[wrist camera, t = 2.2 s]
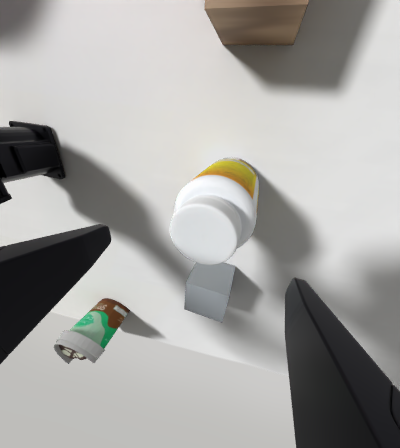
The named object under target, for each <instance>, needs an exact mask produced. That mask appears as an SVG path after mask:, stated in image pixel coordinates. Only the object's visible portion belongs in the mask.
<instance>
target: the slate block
mask: <svg viewBox="0 0 400 448" xmlns="http://www.w3.org/2000/svg"><path fill="white" fill-rule="evenodd" d="M234 271H235V266H234V265H230V264H227V263H223V262H222V263H220V264H215V265H204V264H199V263H196V264H195V266H194V268H193V270H192V272H191V274H190V276H189V278H188V280H187V282H186V291H185V306H184V309H185V310H188V311H191V312H194V313H196V314H199V315H202V316H205V317H208V318H210V319H213V320H216V321H219V322H223V319H224V315H225V311H226V307H227V304H228V300H229V296H230V291H231V286H232V281H233V276H234Z"/></svg>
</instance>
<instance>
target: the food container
mask: <svg viewBox="0 0 400 448" xmlns="http://www.w3.org/2000/svg"><path fill="white" fill-rule="evenodd" d="M129 311H130V310H129V309H128V308H126V307H125V306H124V305H122V304H121V303H119V302H117V301H115V300H112V299H108V298H105V299H102V300H101V301H100V302H99V303H98V304H97V305H96V306H95V307H93V308H92V309H91V310H90V311H89V312H88V313H87V314H86V315H85V316H84V317H83V318H82V319H81V320H80V321H79V322H78V323H77V324H76V325H74V327H72V328H71V329H70V330H66V331H63V333H62V334H61V335H60V337H59V338H58V340H57V341H56V344H55V345H54V349H55V351H56V352H57V354H58V355H59V356H60V357H61V358H62V359H63V360H64V361H65V362H67V363H68V364H69V363H70V361H71V360H72V359H74V358H78V359H80V360H83V359H86V358H88V359H89V360H90V361H92V362H93V363H95V361H96V360H97V359H98V358H99V357H100V356H101V354H102V353H103V352H104V348H105V346H106V345H107V344H108V342H109V341H110V339H111V338H112V336H113V335H114V333H115V332H116V330H117V329H118V327H119V326H120V324H121V323H122V321H123V320H124V318H125V317H126V315H127V314H128V312H129Z"/></svg>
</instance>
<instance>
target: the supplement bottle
mask: <svg viewBox="0 0 400 448" xmlns="http://www.w3.org/2000/svg"><path fill="white" fill-rule="evenodd" d="M258 193H259V181H258V176H257V174H256V172H255V170H254V169H253V167H252V166H251V165H250V164H248V163H247V162H246V161H244V160H242V159H239V158H234V157H229V158H223V159H220V160H218V161H216V162H215V163H213V164H212V165H211V166H209V167H208V168H207V169H205V170H204V171H203V172H202V173H200V174H199V175H198V176H196V177H195V178H194V179H193V180H191V181H190V182H189V183H188V184H186V185H185V186H184V187H183V189H182V190H181V191H180V193H179V194H178V196H177V199H176V202H175V206H174V216H173V217H172V219H171V223H170V235H171V239H172V241H173V243H174V245H175V247H176V248H177V249H178V251H179V252H180V253H181V254H182V255H184V256H185V257H186V258H188V259H190V260H191V261H194V262H196V263H199V264H204V265H215V264H220V263H222V262H225V261H226V260H228V259H229V258H230V257H231V256H232V255H233V254H234V252H235V251H236V249H237V248H239V247H240V246H242V245H243V244H244V243H245V242H247V240H248V239H249V238H250V237H251V235H252V233H253V231H254V228H255V224H256V219H257V206H258Z"/></svg>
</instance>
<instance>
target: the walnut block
mask: <svg viewBox="0 0 400 448" xmlns="http://www.w3.org/2000/svg"><path fill="white" fill-rule="evenodd" d="M308 2H309V0H205V11H206V13H207V15H208V17H209V19H210V21H211V23H212V24H213V26H214V28H215V30H216V32H217V34H218V36H219V38H220V40H221V42H222V44H223V45H293V44H294V41H295V38H296V36H297V33H298V30H299V27H300V25H301V22H302V19H303V16H304V13H305V11H306V8H307V5H308Z"/></svg>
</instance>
